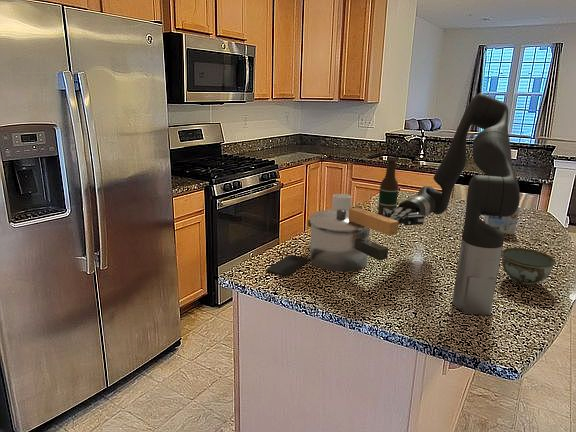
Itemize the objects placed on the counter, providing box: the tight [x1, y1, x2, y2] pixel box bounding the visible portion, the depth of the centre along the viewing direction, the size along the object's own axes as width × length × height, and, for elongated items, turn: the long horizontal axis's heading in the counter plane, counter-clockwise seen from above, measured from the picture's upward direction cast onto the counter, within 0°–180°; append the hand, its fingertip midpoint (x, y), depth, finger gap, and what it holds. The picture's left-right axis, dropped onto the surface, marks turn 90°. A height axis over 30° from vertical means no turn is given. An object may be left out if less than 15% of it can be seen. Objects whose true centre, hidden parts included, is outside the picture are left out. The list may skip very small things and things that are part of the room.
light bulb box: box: [483, 206, 520, 235], centre depth 167 cm, size 11×7×11 cm, turn 76°
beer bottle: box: [377, 158, 399, 216], centre depth 185 cm, size 8×8×24 cm
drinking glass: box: [331, 193, 352, 211], centre depth 156 cm, size 7×7×15 cm
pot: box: [307, 219, 389, 273], centre depth 131 cm, size 32×18×12 cm, turn 33°
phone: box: [266, 254, 310, 277], centre depth 130 cm, size 7×1×15 cm
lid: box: [309, 206, 399, 237], centre depth 126 cm, size 30×19×6 cm, turn 34°
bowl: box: [501, 247, 556, 287], centre depth 122 cm, size 14×13×8 cm
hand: (390, 222), depth 117 cm, fingers closed
